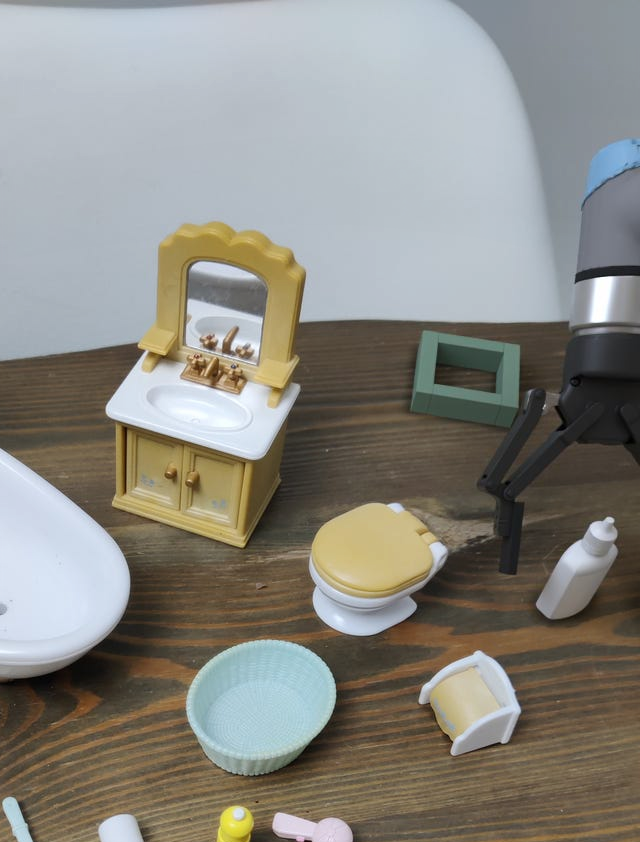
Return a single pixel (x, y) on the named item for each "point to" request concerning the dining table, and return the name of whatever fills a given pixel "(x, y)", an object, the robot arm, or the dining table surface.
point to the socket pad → (461, 400)
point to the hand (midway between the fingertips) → (582, 578)
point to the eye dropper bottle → (579, 572)
